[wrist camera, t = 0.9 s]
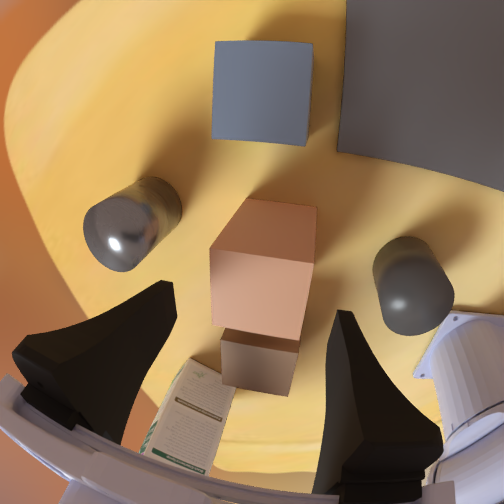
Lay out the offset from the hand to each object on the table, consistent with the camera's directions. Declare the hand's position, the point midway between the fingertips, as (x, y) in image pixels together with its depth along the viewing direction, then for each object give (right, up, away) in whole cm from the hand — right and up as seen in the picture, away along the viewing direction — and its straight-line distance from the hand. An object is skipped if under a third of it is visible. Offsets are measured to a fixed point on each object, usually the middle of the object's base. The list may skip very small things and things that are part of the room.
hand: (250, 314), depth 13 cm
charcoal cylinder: (+10, +2, +6) cm, 12 cm away
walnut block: (+1, -3, +11) cm, 12 cm away
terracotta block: (+2, +4, +7) cm, 8 cm away
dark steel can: (-7, +6, +8) cm, 12 cm away
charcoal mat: (+12, +14, -1) cm, 18 cm away
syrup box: (-5, -11, +17) cm, 21 cm away
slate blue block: (+1, +12, +3) cm, 12 cm away
